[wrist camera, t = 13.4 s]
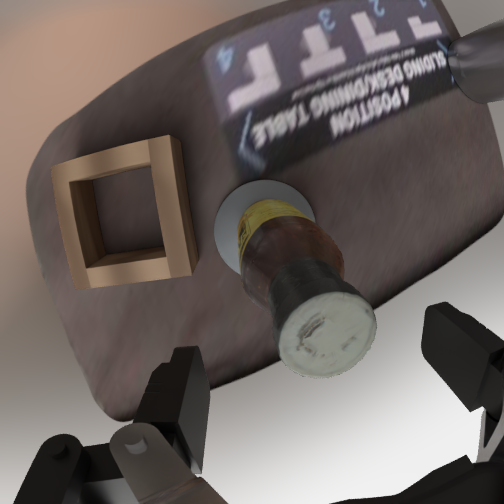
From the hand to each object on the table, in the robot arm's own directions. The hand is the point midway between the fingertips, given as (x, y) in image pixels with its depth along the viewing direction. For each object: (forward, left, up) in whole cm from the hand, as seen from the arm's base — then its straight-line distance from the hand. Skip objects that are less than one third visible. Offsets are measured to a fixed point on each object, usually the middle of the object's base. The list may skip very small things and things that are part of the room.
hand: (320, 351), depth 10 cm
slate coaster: (0, 0, -22) cm, 22 cm away
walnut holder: (+13, -4, -22) cm, 26 cm away
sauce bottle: (0, 0, -21) cm, 21 cm away
